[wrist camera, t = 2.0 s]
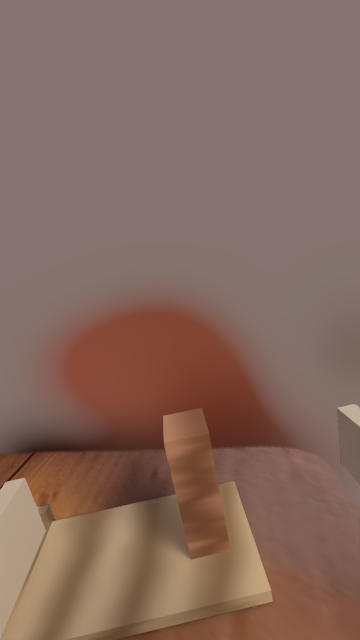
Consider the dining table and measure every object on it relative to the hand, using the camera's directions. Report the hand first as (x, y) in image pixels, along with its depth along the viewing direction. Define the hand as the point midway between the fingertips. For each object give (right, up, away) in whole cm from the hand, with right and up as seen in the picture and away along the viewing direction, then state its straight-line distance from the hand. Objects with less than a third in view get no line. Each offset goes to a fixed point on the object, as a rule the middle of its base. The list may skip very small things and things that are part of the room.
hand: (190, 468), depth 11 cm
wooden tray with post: (-9, -18, +13) cm, 24 cm away
